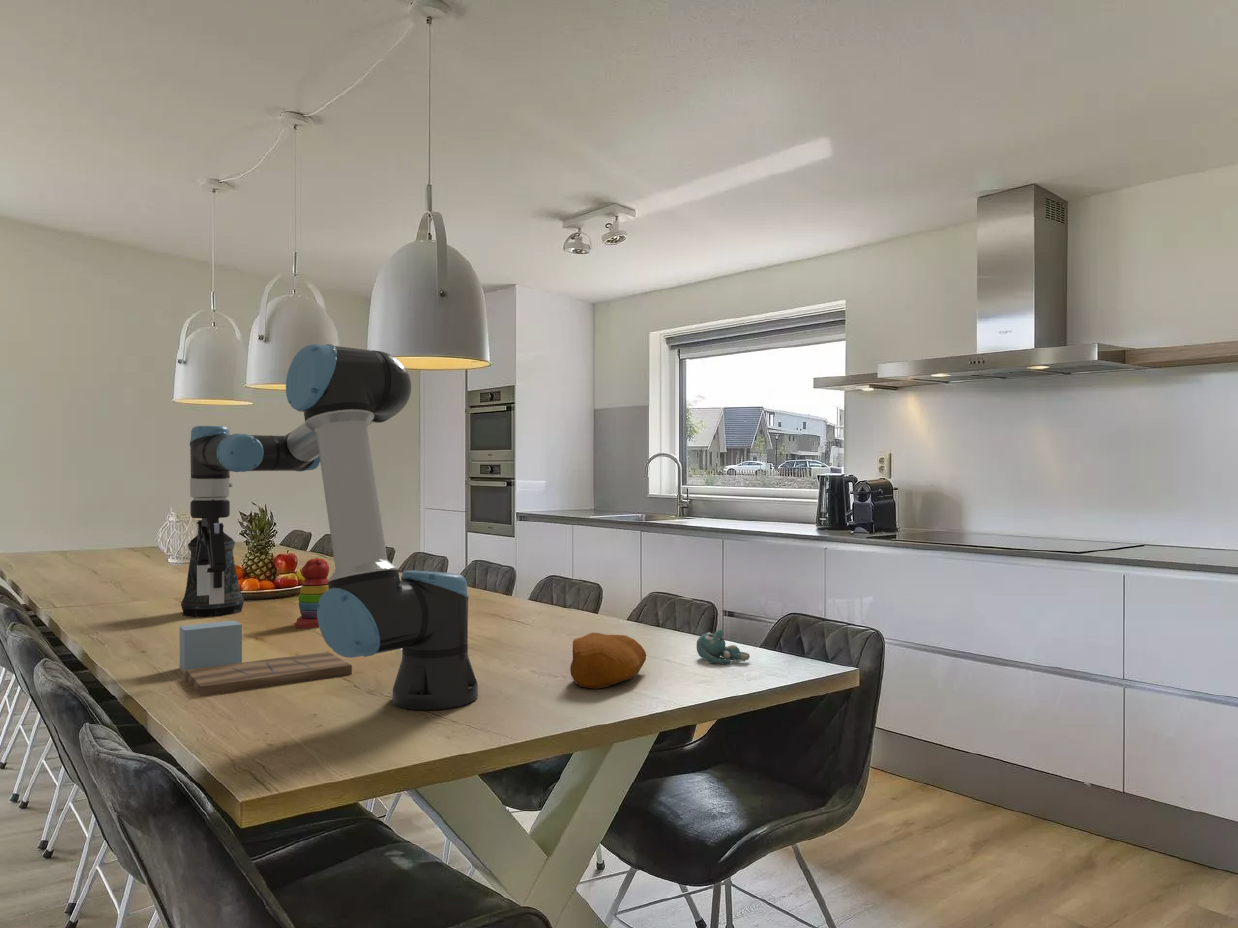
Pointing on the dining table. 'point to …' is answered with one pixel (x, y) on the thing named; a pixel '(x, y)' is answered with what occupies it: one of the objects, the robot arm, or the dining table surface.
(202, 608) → the beer stein
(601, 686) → the bread
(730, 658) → the stuffed animal
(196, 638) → the sanding block
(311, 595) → the stacking bear
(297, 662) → the board
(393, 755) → the dining table surface
